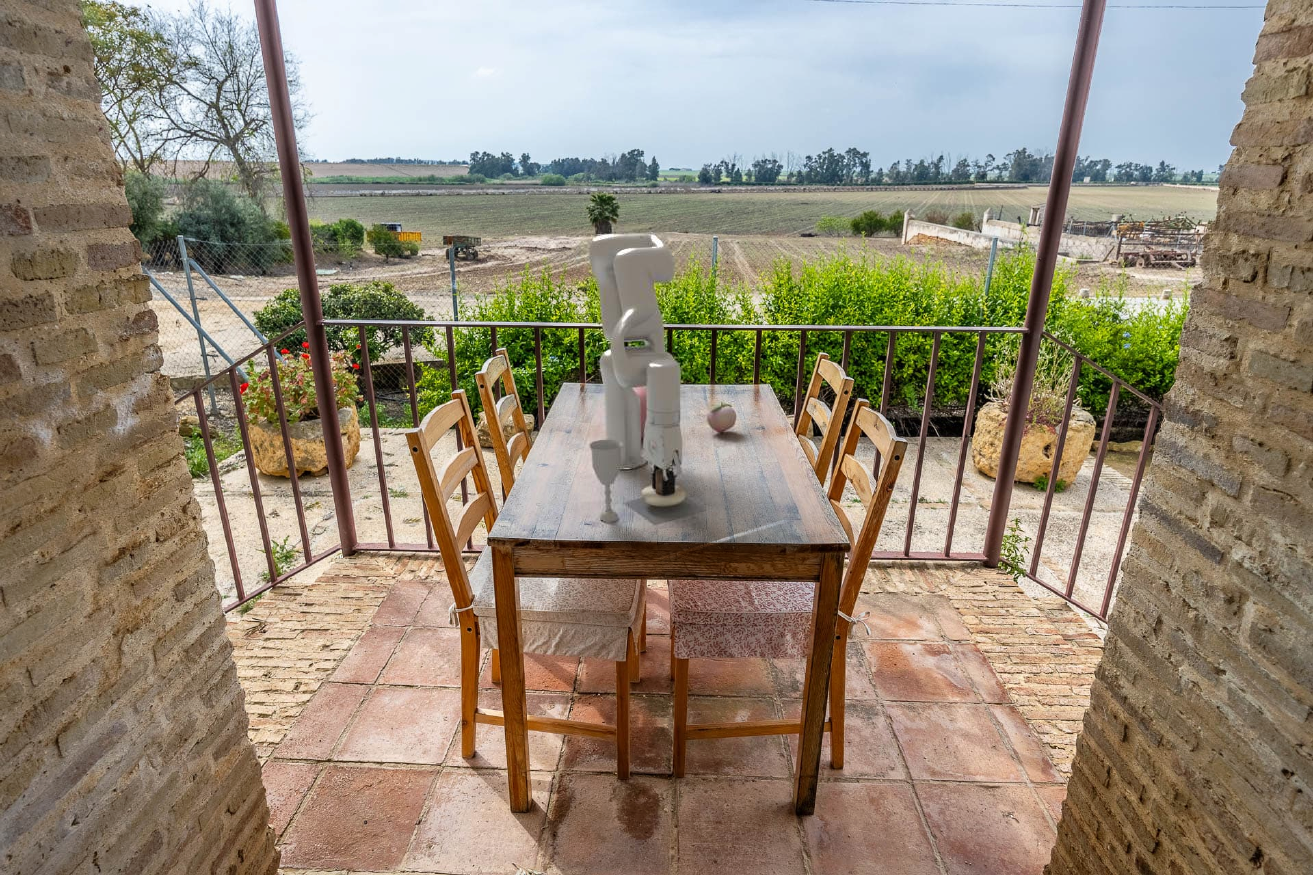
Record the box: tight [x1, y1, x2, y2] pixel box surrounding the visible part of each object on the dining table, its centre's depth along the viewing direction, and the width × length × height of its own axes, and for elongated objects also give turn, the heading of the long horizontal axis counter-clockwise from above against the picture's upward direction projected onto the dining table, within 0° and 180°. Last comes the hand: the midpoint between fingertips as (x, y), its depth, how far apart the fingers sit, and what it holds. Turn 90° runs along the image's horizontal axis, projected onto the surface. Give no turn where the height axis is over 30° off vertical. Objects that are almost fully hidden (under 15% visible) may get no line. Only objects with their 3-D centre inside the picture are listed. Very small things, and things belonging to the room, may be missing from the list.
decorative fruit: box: [706, 401, 737, 434], centre depth 212 cm, size 9×8×10 cm
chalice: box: [588, 439, 623, 523], centre depth 154 cm, size 7×7×18 cm
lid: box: [641, 469, 686, 506], centre depth 161 cm, size 10×10×6 cm
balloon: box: [632, 386, 647, 439], centre depth 212 cm, size 15×20×15 cm
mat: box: [623, 496, 707, 526], centre depth 162 cm, size 14×14×1 cm
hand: (663, 490), depth 162 cm, fingers closed on lid, 3 cm apart
